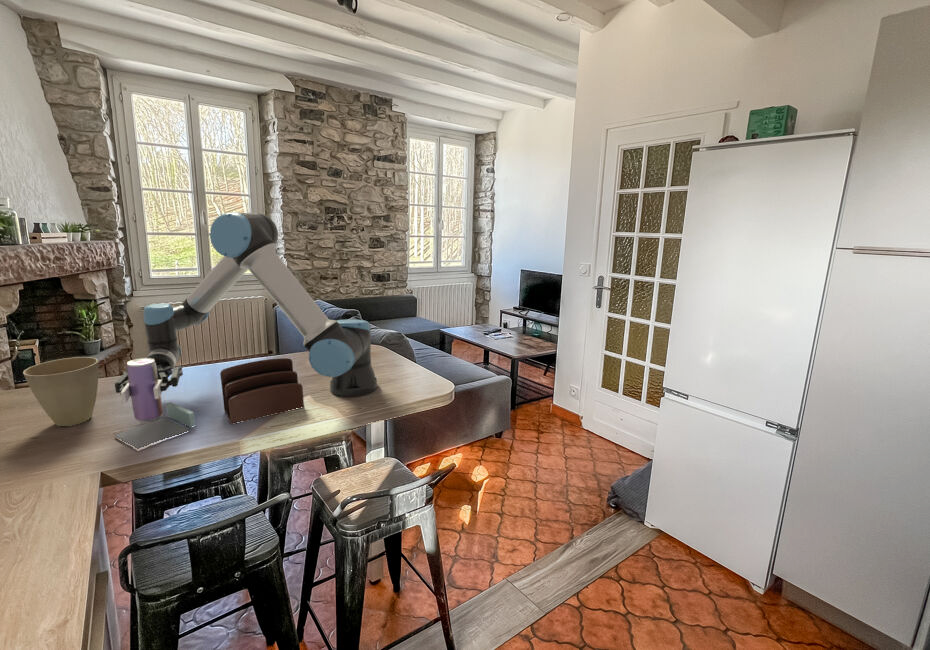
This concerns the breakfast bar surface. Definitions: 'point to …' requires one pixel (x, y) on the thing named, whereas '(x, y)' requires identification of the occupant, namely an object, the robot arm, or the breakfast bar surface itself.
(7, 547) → the breakfast bar surface
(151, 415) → the beverage can
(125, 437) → the slate coaster
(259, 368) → the letter holder
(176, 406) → the frosted wall
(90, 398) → the plant pot
